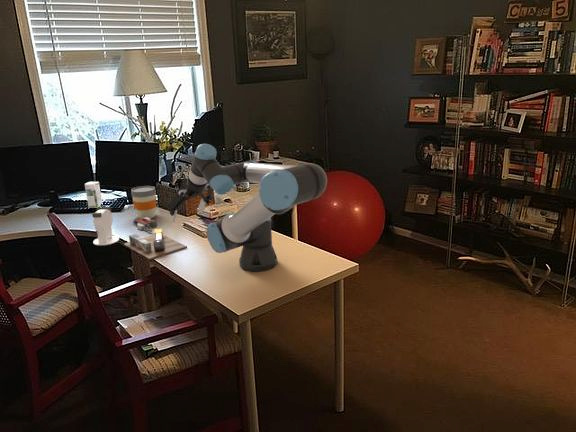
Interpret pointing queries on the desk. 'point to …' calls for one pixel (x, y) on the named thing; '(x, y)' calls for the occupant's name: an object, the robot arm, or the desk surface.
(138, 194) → the reusable coffee cup
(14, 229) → the desk surface
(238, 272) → the desk surface
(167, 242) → the board
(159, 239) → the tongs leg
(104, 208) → the white figurine
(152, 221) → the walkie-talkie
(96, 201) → the syrup box
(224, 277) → the desk surface
